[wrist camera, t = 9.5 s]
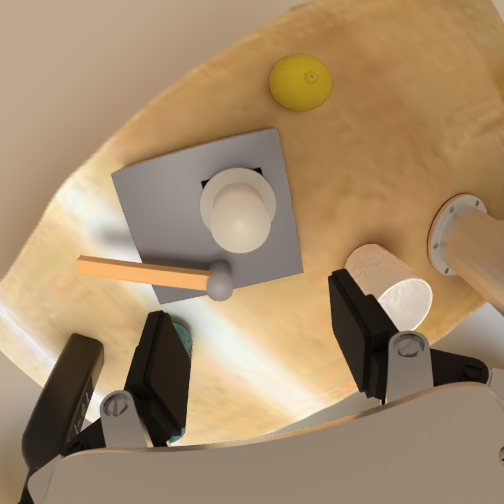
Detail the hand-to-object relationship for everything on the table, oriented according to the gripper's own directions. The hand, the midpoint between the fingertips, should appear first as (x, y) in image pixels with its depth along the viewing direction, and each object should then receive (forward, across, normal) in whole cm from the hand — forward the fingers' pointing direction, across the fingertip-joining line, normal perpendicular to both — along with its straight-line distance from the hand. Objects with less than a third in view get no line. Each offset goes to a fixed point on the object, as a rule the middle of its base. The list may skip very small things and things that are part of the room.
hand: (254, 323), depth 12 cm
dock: (+22, +3, +2) cm, 22 cm away
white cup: (+22, -14, +13) cm, 29 cm away
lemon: (+22, -8, -10) cm, 25 cm away
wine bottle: (+22, +28, +17) cm, 39 cm away
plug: (+21, 0, 0) cm, 21 cm away
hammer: (+18, +10, +4) cm, 20 cm away
